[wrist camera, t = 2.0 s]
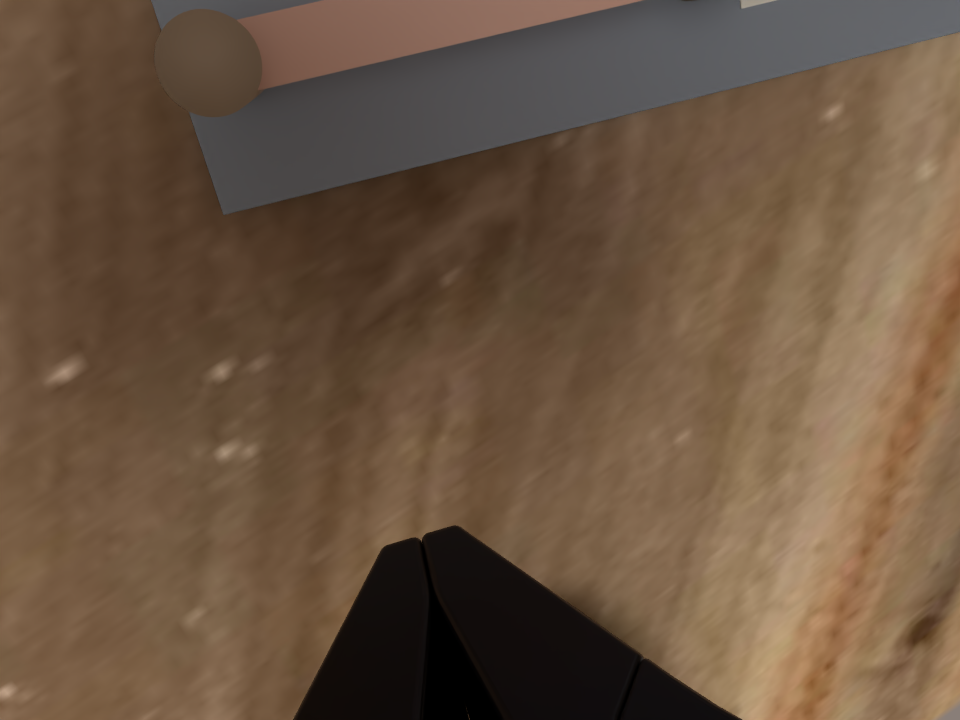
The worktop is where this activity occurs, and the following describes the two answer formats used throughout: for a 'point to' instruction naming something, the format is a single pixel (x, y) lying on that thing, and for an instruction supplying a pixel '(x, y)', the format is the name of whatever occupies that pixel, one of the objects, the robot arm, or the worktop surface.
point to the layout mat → (526, 84)
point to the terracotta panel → (325, 41)
